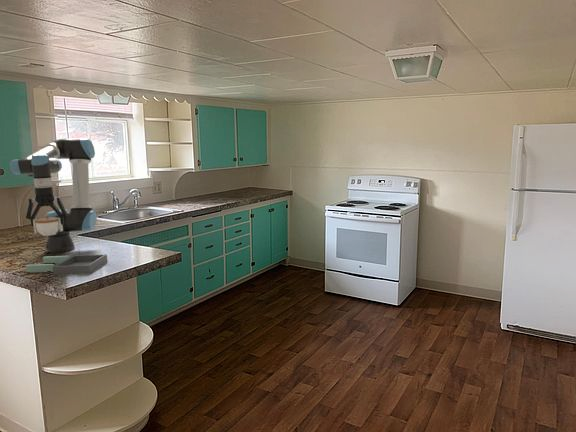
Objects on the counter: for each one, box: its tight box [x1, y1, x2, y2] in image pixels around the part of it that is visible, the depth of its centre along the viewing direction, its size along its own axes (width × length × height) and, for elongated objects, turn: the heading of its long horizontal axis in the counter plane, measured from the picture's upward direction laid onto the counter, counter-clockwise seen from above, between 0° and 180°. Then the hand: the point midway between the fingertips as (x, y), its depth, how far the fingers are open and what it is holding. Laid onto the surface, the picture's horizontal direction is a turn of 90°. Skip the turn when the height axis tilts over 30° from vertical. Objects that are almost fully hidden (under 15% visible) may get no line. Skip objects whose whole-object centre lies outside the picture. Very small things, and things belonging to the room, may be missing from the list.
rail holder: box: [25, 255, 71, 273], centre depth 222 cm, size 13×17×4 cm
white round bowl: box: [35, 216, 59, 237], centre depth 218 cm, size 11×11×9 cm
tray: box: [52, 253, 108, 276], centre depth 218 cm, size 17×21×4 cm
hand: (48, 231), depth 219 cm, fingers closed on white round bowl, 11 cm apart
